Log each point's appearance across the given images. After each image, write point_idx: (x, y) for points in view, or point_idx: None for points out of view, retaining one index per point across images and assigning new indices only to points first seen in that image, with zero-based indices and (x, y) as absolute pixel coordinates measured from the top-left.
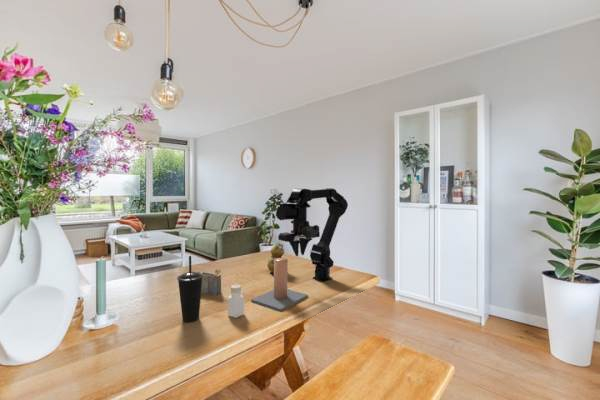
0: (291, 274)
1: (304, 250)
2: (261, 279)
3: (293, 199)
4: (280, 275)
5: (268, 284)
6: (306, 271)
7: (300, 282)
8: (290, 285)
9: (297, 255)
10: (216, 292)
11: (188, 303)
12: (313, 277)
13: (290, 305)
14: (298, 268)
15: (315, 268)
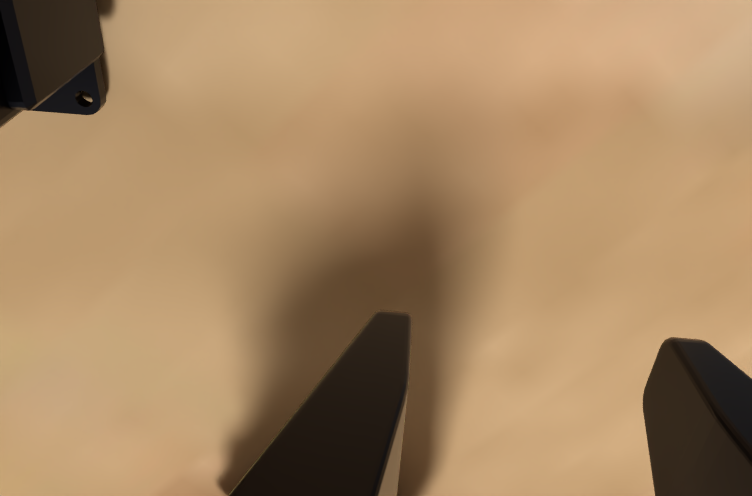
0: (237, 380)
1: (350, 410)
2: (602, 472)
3: None
4: None
5: (696, 337)
6: (13, 337)
7: (360, 118)
8: (555, 133)
9: (711, 350)
10: None
11: None
12: (94, 99)
13: None
14: (39, 447)
15: (4, 118)
